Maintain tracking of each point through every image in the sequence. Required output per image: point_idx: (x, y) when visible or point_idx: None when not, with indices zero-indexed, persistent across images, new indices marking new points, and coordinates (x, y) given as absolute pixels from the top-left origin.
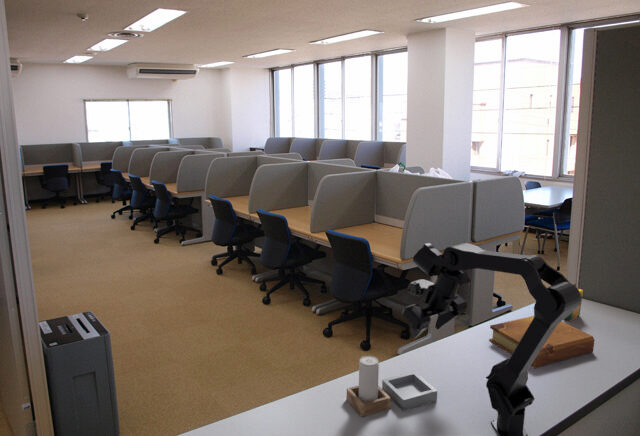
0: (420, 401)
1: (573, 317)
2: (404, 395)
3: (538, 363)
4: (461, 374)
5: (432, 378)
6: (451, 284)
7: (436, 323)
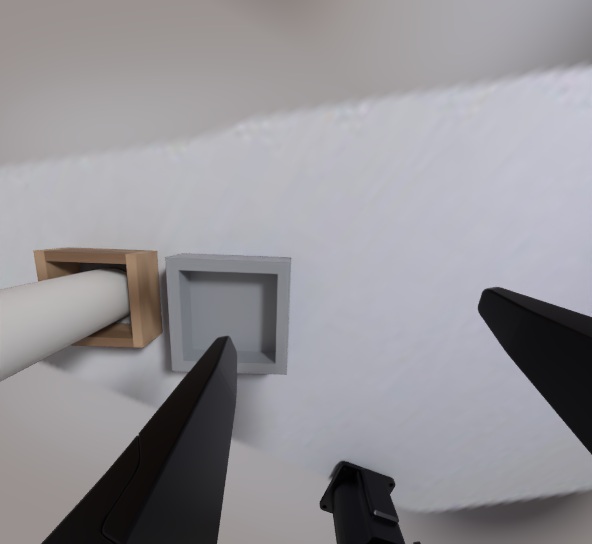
0: None
1: None
2: (213, 318)
3: None
4: (436, 286)
5: (348, 267)
6: None
7: (516, 313)
